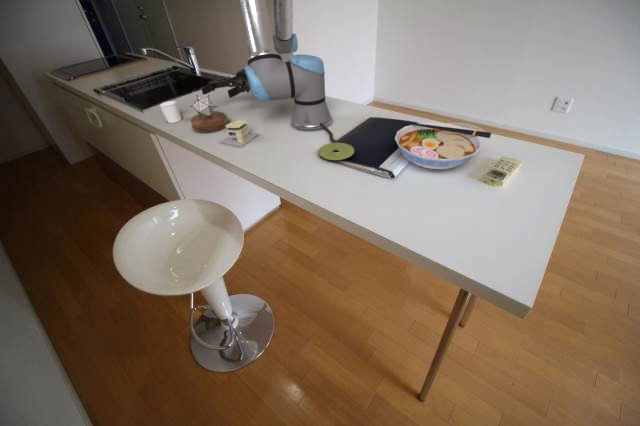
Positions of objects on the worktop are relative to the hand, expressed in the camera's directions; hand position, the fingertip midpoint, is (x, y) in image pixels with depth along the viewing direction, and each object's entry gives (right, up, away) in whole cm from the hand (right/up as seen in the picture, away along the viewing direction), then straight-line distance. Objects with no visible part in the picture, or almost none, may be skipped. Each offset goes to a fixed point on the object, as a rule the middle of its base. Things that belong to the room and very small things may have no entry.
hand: (215, 92), depth 113 cm
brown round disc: (-2, -12, +2) cm, 13 cm away
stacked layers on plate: (+12, -21, -9) cm, 25 cm away
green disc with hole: (+46, -30, -22) cm, 59 cm away
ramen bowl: (+74, -32, -28) cm, 86 cm away
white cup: (-21, -8, +9) cm, 24 cm away
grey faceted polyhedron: (-3, -10, 0) cm, 10 cm away
